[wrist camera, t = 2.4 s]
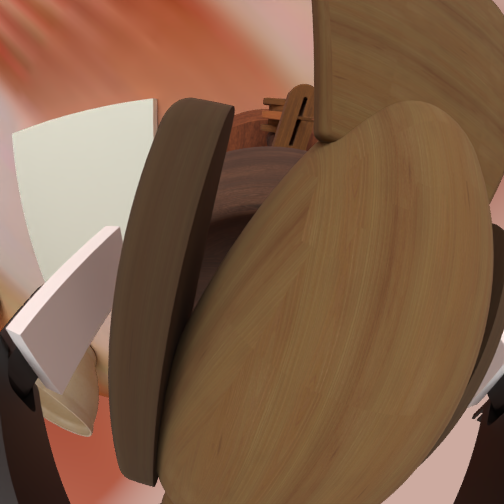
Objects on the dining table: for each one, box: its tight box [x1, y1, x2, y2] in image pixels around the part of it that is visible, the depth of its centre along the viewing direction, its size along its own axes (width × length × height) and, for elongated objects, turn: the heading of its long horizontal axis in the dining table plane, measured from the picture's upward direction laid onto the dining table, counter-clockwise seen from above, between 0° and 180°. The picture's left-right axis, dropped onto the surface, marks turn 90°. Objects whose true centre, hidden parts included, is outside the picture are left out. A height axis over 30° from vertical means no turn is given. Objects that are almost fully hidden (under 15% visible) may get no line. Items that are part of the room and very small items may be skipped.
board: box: [12, 99, 157, 283], centre depth 20 cm, size 16×18×1 cm
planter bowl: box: [35, 345, 99, 437], centre depth 25 cm, size 16×16×11 cm
